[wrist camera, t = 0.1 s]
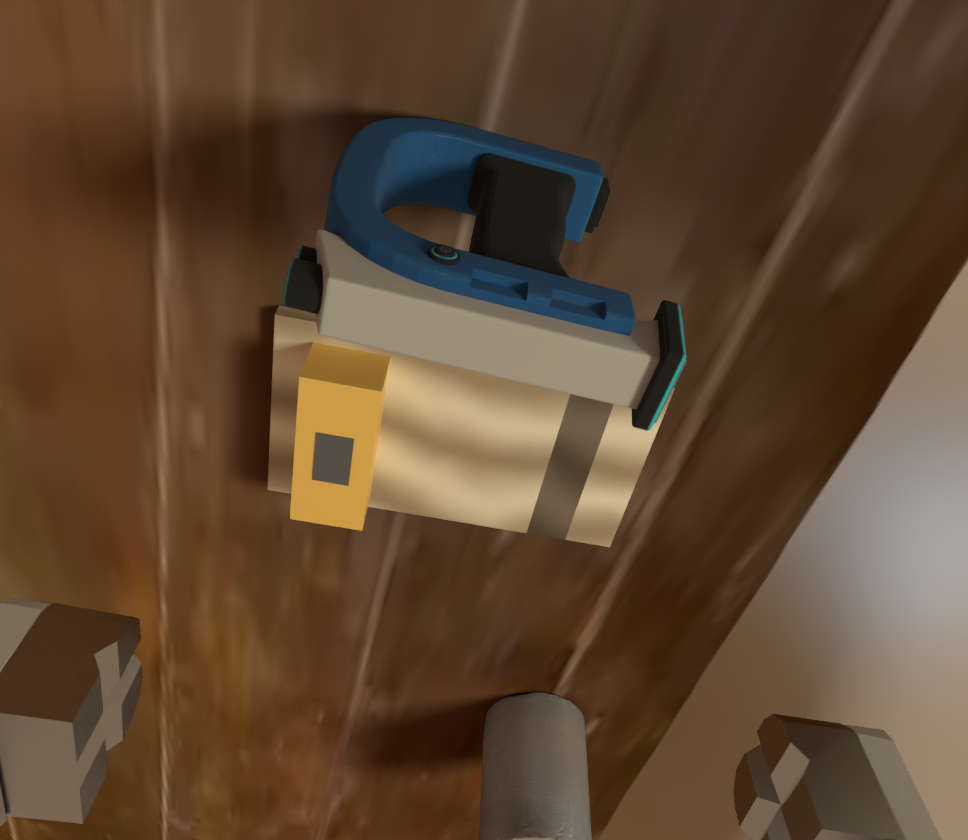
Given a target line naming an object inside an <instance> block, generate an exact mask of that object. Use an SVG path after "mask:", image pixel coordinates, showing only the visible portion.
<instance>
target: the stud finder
mask: <svg viewBox="0 0 968 840" xmlns="http://www.w3.org/2000/svg"><path fill="white" fill-rule="evenodd" d="M390 358H391V356H386V355H381V354H376V353H370V352H365V351H359V350H354V349H348V348H343V347H337V346H332V345H327V344H321V343H316V342H313V344H312V346H311V349H310V351H309V354H308V356H307V359H306V361H305V364H304V366H303V369H302V371H301V374H300V376H299V387H298V403H297V418H296V433H295V449H294V464H293V479H292V494H291V510H290V519H294V520H300V521H306V522H312V523H318V524H325V525H331V526H337V527H343V528H349V529H355V530H361V531H362V529H363V525H364V520H365V516H366V512H367V507H368V503H369V498H370V494H371V488H372V481H373V474H374V468H375V461H376V454H377V447H378V440H379V433H380V426H381V419H382V413H383V406H384V399H385V392H386V385H387V378H388V371H389V364H390Z"/></svg>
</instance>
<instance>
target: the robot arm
mask: <svg viewBox="0 0 968 840" xmlns="http://www.w3.org/2000/svg"><path fill="white" fill-rule="evenodd" d="M140 639H141V634H140V622H139V619H137V618H135V617H131V616H125V615H119V614H114V613H108V612H103V611H97V610H92V609H86V608H80V607H75V606H69V605H64V604H58V603H50V602H44V601H38V600H32V599H26V598H21V597H15V596H10V597H9V598H7V599H6V600H5V601H3V602H2V603H0V826H1V825H2V824H3V823H4V822H6V820H7V817H6V816H14V817H24V818H33V819H43V820H52V821H62V822H72V823H81V824H83V822H84V820H85V818H86V816H87V814H88V812H89V810H90V808H91V806H92V804H93V802H94V800H95V797H96V795H97V793H98V791H99V789H100V787H101V785H102V783H103V781H104V779H105V777H106V774H107V756H106V751H107V750H109V749H110V748H112V747H113V746H115V745H116V744H117V743H119V742H120V741H122V740H123V738H124V736H125V734H126V732H127V730H128V727H129V725H130V723H131V721H132V718H133V715H134V712H135V708H136V705H137V702H138V698H139V695H140V688H141V681H142V663H141V662H140V661H139V660H138V659H137V658H136V656H135V655H134V654H133V653H134V651H135V649H136V647H137V645H138V643H139V641H140ZM757 733H758V736H759V740H760V743H761V745H759V746H757V747H755V748H753V749H751V750H749V751H748V752H746V753H744V755H743V758H742V759H741V761H740V763H739V766H738V768H737V769H736V776H735V783H734V802H735V810H736V814H737V818H738V822H739V826H740V828H742V830H743V831H744V832H745V833H746V835H747V836H748V837H749V838H750V839H751V840H942V839H941V837H940V835H939V833H938V831H937V829H936V827H935V825H934V823H933V821H932V819H931V817H930V815H929V812H928V810H927V808H926V806H925V804H924V802H923V800H922V798H921V796H920V794H919V792H918V790H917V788H916V786H915V784H914V782H913V780H912V778H911V776H910V774H909V772H908V769H907V767H906V765H905V763H904V761H903V759H902V757H901V755H900V753H899V751H898V749H897V747H896V745H895V743H894V741H893V739H892V738H891V737H890V736H889V735H888V734H887V733H886V732H885V731H884V730H879V729H872V728H865V727H859V726H852V725H843V724H841V723H835V722H828V721H819V720H813V719H806V718H799V717H792V716H785V715H778V714H772V715H770V716H769V717H767V718H765V719H764V721H763V722H762V724H761V726H760V727H759V729H758V731H757Z"/></svg>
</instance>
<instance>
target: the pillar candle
mask: <svg viewBox="0 0 968 840" xmlns="http://www.w3.org/2000/svg"><path fill="white" fill-rule="evenodd" d="M479 840H592V839H591V823H590V804H589V789H588V771H587V754H586V737H585V721H584V717H583V714H582V712H581V711H580V710H579V708H578V707H577V706H575V705H574V704H573V703H572V702H570V701H568V700H566V699H564V698H561V697H559V696H557V695H552V694H547V693H542V692H536V693H529V694H525V695H518V696H512V697H507V698H503V699H501V700H499V701H497V702H496V703H495V704H493V706H492V707H491V708H490V709H489V710H488V712H487V714H486V717H485V723H484V734H483V753H482V785H481V807H480V830H479Z"/></svg>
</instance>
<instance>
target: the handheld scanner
mask: <svg viewBox="0 0 968 840" xmlns="http://www.w3.org/2000/svg"><path fill="white" fill-rule="evenodd" d="M609 193H610V188H609V184H608V180H607V178H603V173H602V169H601V166H600V164H599V163H597V162H594V161H591V160H587V159H584V158H580V157H577V156H573V155H570V154H566V153H562V152H559V151H555V150H552V149H548V148H545V147H541V146H538V145H534V144H531V143H527V142H523V141H520V140H516V139H513V138H509V137H506V136H502V135H499V134H495V133H492V132H488V131H484V130H481V129H477V128H474V127H470V126H467V125H462V124H458V123H454V122H448V121H442V120H435V119H425V118H390V119H383V120H379V121H376V122H373V123H370V124H368V125H366V126H365V127H363V128H361V129H360V130H359V131H358V132H357V133H356V134H355V135H354V136H353V137H352V138H351V140H350V141H349V143H348V145H347V146H346V148H345V150H344V151H343V153H342V155H341V157H340V159H339V161H338V164H337V167H336V169H335V172H334V174H333V177H332V182H331V189H330V195H329V202H328V209H327V215H326V222H325V228H324V230H322V229H318V231H317V236H316V243H315V249H314V248H310V247H306V246H300V248H299V251H298V254H297V258H295V259H294V260H292V262H291V264H290V267H289V270H288V274H287V278H286V283H285V288H284V296H283V303H284V305H285V307H290V308H294V309H298V310H302V311H306V312H310V313H315V318H316V324H317V329H318V333H319V334H320V335H323V336H327V337H331V338H335V339H339V340H344V341H348V342H352V343H356V344H360V345H364V346H369V347H373V348H377V349H381V350H385V351H390V352H394V353H398V354H402V355H406V356H411V357H415V358H419V359H423V360H428V361H432V362H436V363H440V364H445V365H449V366H453V367H457V368H462V369H466V370H470V371H474V372H479V373H483V374H487V375H491V376H496V377H500V378H504V379H508V380H513V381H517V382H521V383H525V384H530V385H534V386H538V387H542V388H547V389H551V390H555V391H559V392H564V393H568V394H572V395H576V396H581V397H585V398H589V399H593V400H598V401H602V402H606V403H611V404H615V405H619V406H623V407H628V408H632V426H633V427H635V428H639V429H642V430H646V431H649V430H650V429H651V428H652V426H653V424H655V423H656V422H657V420H658V418H659V416H660V414H661V412H662V410H663V408H664V406H665V404H666V402H667V400H668V398H669V396H670V394H671V392H672V390H673V388H674V386H675V384H676V382H677V380H678V378H679V376H680V374H681V372H682V370H683V368H684V366H685V364H686V361H687V360H686V349H685V338H684V328H683V317H682V315H681V311H680V305H679V304H677V303H674V302H670V301H667V300H664V301H662V302H661V304H660V307H659V309H658V311H657V313H656V316H655V318H654V320H653V321H640V322H636V317H635V312H634V307H633V303H632V300H631V297H630V295H629V294H627V293H624V292H620V291H617V290H613V289H609V288H606V287H602V286H599V285H595V284H591V283H587V282H583V281H579V280H575V279H571V278H570V277H569V276H568V275H567V273H566V272H565V271H564V270H563V268H562V266H561V265H560V262H559V256H560V253H561V250H562V247H563V244H564V239H566V240H570V241H573V242H580V241H581V239H582V237H583V234H584V231H585V232H589V233H592V232H593V230H594V227H597V226H598V223H599V220H600V218H601V215H602V212H603V209H604V207H605V204H606V201H607V199H608V196H609ZM406 204H424V205H434V206H439V207H444V208H448V209H452V210H456V211H459V212H463V213H467V214H471V215H475V216H476V220H475V224H474V229H473V234H472V238H471V243H470V249H469V252H466V251H462V250H458V249H455V248H452V247H449V246H446V245H441V244H437V243H434V242H431V241H428V240H425V239H423V238H420V237H418V236H415V235H413V234H411V233H409V232H407V231H405V230H403V229H401V228H399V227H397V226H396V225H394V224H393V223H392V222H390V221H389V220H388V219H387V218H385V217H384V216H383V213H384V212H385V211H387V210H388V209H390V208H393V207H395V206H399V205H406Z"/></svg>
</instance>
